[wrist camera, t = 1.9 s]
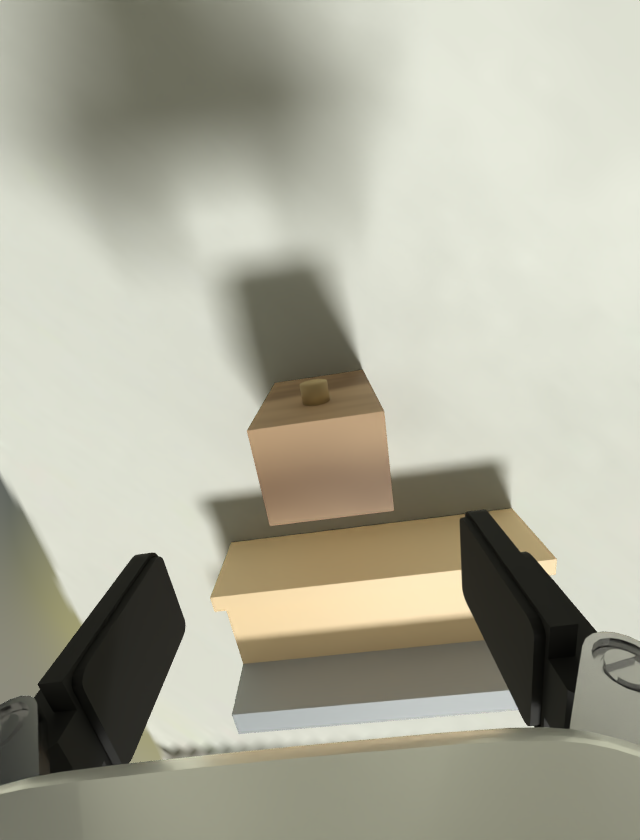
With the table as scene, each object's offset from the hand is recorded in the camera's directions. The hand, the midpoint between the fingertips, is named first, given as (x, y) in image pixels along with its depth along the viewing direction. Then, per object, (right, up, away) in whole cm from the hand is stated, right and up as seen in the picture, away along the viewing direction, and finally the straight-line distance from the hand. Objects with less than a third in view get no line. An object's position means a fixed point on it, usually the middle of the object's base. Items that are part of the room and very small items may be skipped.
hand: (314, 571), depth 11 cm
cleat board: (+5, -8, +18) cm, 21 cm away
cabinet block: (0, +5, +14) cm, 15 cm away
